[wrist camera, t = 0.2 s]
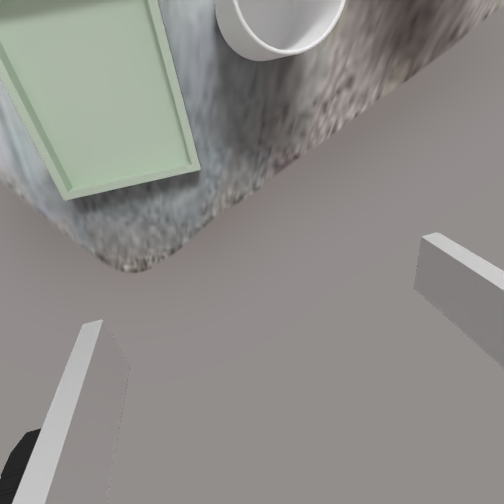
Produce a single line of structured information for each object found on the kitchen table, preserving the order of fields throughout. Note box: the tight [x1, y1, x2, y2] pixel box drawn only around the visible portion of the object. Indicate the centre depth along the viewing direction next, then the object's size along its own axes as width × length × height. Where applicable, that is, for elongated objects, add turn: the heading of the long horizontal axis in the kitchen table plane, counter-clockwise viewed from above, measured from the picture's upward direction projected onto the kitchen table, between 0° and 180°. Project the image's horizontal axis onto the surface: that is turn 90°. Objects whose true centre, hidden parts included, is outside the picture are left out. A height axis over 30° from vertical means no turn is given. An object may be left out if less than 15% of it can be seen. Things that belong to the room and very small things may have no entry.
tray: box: [0, 0, 201, 201], centre depth 30 cm, size 18×15×2 cm
